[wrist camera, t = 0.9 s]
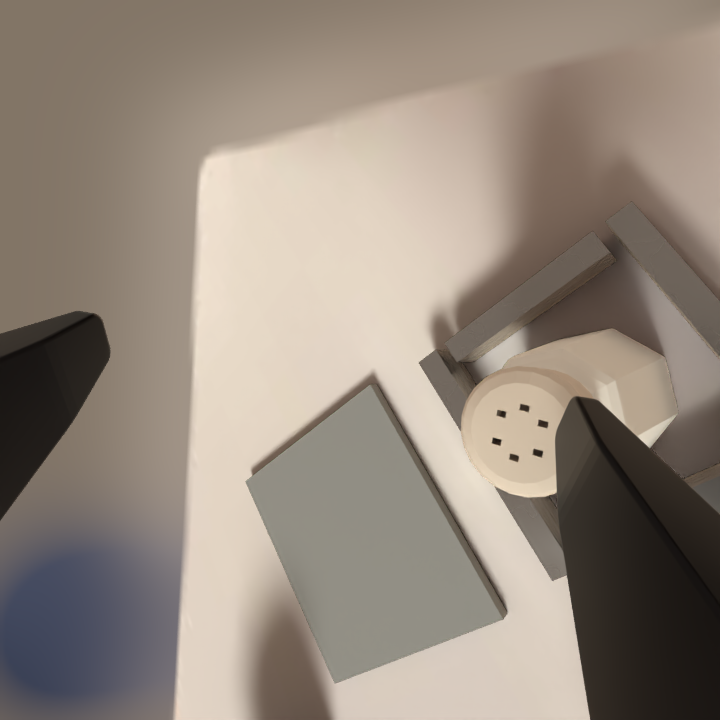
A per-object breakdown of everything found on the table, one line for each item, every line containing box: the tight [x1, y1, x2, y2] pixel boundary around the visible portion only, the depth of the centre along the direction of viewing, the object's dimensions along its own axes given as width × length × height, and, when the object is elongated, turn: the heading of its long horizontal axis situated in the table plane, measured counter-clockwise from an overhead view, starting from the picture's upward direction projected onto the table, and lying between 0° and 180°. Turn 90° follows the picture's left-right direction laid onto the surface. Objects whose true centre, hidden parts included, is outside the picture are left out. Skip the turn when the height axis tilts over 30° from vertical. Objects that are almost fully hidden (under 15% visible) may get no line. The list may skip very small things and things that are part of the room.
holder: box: [419, 201, 720, 581], centre depth 19 cm, size 10×10×2 cm
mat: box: [245, 384, 507, 683], centre depth 26 cm, size 12×11×1 cm
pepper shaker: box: [461, 328, 679, 497], centre depth 15 cm, size 5×5×11 cm
